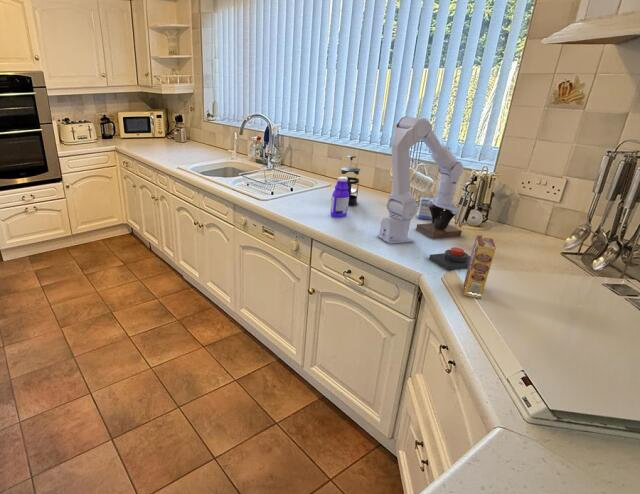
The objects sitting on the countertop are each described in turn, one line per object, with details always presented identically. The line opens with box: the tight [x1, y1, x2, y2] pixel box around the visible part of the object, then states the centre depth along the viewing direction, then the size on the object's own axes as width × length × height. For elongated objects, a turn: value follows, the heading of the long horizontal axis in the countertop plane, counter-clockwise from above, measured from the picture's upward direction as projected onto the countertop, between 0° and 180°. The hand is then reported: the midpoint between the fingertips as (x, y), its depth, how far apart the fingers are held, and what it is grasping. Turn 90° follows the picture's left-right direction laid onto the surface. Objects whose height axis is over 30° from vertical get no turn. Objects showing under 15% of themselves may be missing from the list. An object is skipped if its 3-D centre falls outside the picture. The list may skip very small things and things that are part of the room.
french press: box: [340, 155, 361, 207], centre depth 188 cm, size 12×9×23 cm
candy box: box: [463, 235, 496, 300], centre depth 109 cm, size 9×4×15 cm, turn 152°
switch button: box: [450, 246, 465, 256], centre depth 127 cm, size 4×4×2 cm
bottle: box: [329, 176, 349, 219], centre depth 171 cm, size 7×6×17 cm
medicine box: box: [416, 196, 436, 221], centre depth 169 cm, size 8×4×9 cm, turn 68°
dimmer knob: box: [433, 216, 441, 229], centre depth 152 cm, size 4×4×4 cm
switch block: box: [428, 249, 471, 272], centre depth 128 cm, size 12×9×4 cm
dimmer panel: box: [415, 222, 463, 240], centre depth 153 cm, size 12×10×3 cm
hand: (439, 226), depth 152 cm, fingers closed on dimmer knob, 4 cm apart
